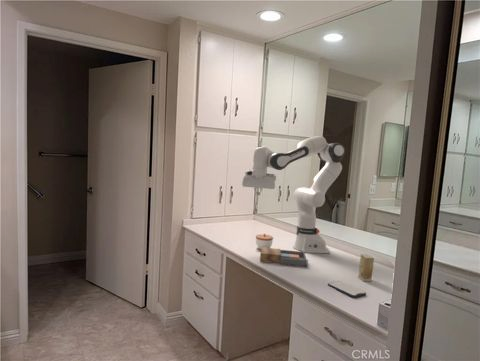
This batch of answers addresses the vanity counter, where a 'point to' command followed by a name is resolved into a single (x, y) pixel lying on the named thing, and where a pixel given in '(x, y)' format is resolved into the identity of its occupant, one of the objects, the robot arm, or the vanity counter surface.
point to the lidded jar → (264, 241)
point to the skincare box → (366, 267)
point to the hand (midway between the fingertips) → (257, 195)
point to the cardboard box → (270, 255)
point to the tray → (294, 262)
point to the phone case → (347, 289)
